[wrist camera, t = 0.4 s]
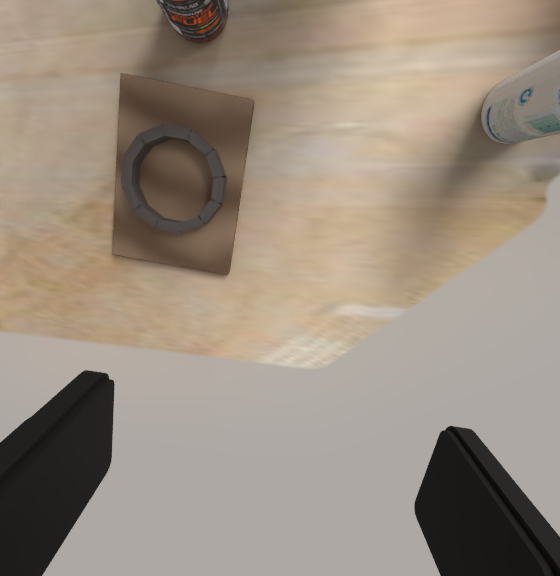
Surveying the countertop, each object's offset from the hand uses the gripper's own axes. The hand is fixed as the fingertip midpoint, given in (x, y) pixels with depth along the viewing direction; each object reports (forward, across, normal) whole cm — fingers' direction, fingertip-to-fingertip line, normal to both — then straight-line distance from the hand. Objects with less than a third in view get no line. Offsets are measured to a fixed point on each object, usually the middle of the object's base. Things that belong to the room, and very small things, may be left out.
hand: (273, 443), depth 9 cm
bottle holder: (+30, +12, -6) cm, 32 cm away
